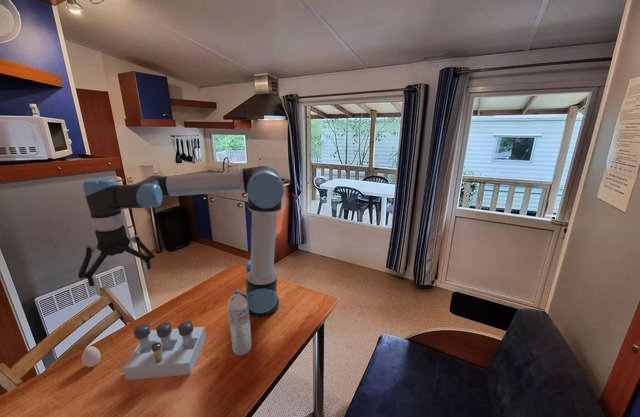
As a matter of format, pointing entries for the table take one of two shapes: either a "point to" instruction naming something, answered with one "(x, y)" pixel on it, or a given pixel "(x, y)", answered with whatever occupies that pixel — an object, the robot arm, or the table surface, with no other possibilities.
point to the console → (165, 357)
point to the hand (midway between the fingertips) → (124, 285)
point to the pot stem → (157, 352)
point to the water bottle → (240, 323)
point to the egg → (90, 356)
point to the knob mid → (165, 334)
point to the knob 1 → (143, 335)
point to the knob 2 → (186, 332)
